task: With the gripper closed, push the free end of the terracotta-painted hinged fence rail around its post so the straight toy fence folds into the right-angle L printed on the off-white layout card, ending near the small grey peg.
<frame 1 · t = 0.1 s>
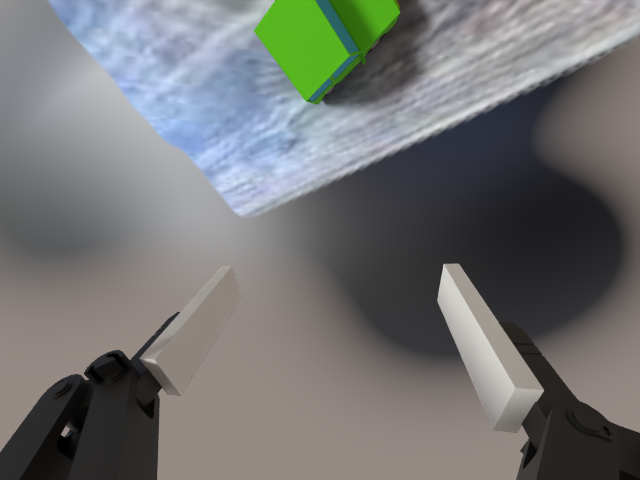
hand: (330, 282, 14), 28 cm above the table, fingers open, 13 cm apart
toy car: (337, 40, 30), on the table
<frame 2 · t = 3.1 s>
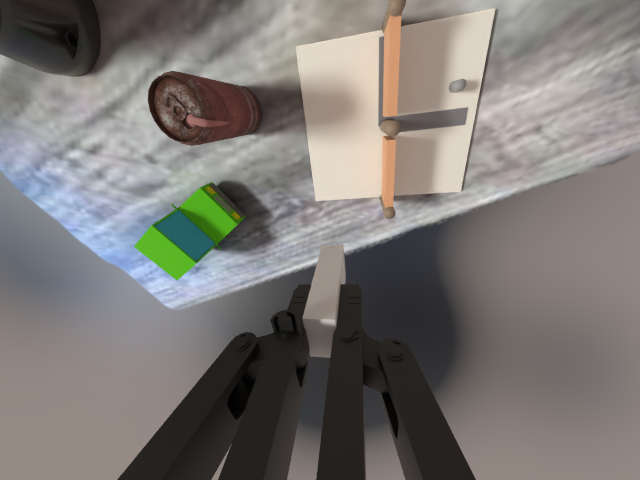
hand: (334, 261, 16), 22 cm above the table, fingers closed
can: (244, 111, 33), on the table
toy car: (213, 216, 42), on the table
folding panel: (387, 176, 30), point 4 cm above the table, hinge at 0.0°
layout card: (385, 125, 31), on the table
fixed panel: (385, 125, 31), resting on layout card
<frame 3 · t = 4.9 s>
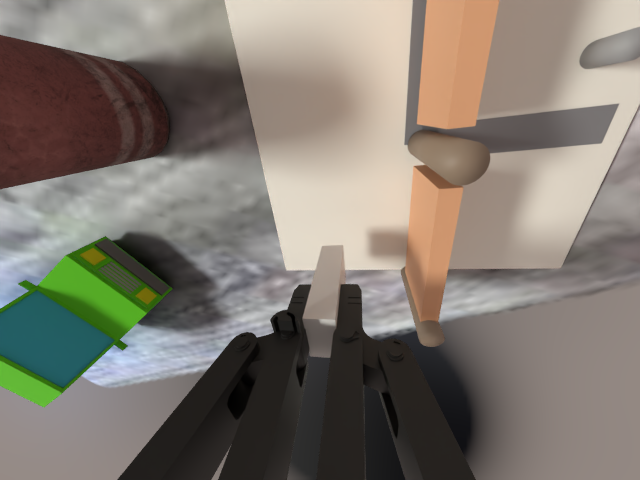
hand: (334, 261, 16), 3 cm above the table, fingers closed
can: (138, 114, 17), on the table
toy car: (128, 281, 26), on the table
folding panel: (424, 251, 14), point 4 cm above the table, hinge at 0.0°
layout card: (419, 142, 15), on the table
fixed panel: (420, 143, 14), resting on layout card
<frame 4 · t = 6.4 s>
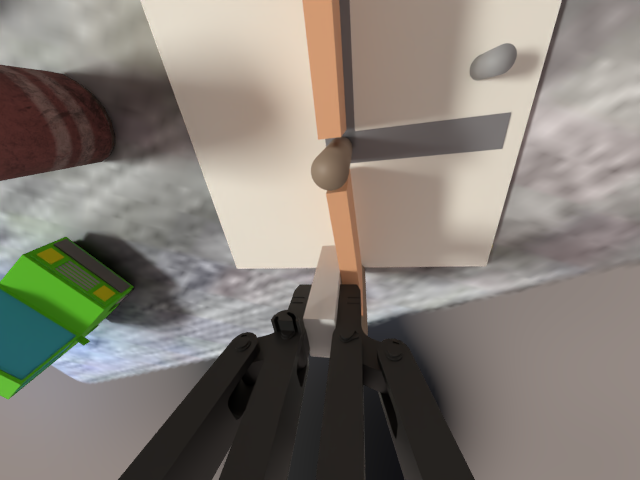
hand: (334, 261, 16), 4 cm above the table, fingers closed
can: (85, 121, 18), on the table
toy car: (95, 279, 27), on the table
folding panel: (350, 249, 15), point 4 cm above the table, hinge at 4.0°, touching gripper
layout card: (341, 148, 16), on the table
fixed panel: (340, 149, 15), resting on layout card
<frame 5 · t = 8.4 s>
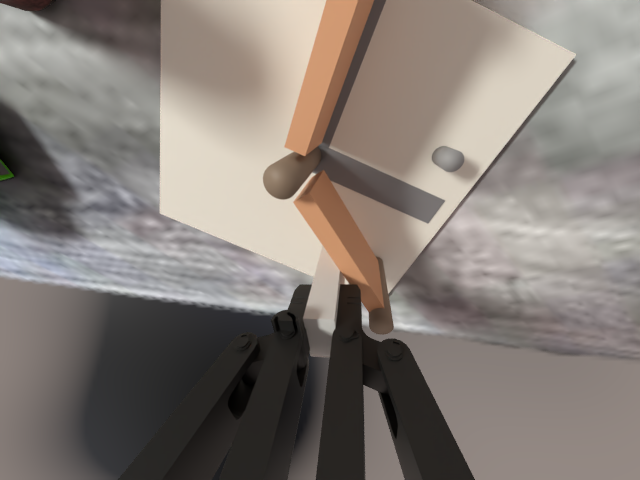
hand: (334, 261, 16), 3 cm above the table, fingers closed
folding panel: (350, 246, 15), point 4 cm above the table, hinge at 54.3°, touching gripper
layout card: (311, 155, 16), on the table
fixed panel: (310, 155, 16), resting on layout card
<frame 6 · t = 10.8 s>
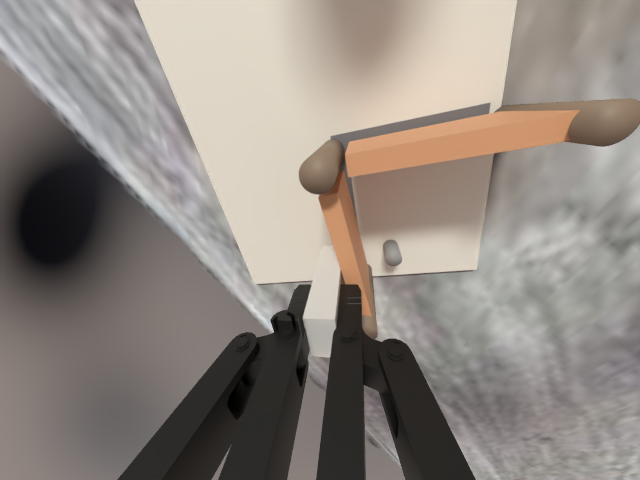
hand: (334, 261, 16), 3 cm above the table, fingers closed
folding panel: (351, 250, 15), point 4 cm above the table, hinge at 95.7°
layout card: (333, 150, 16), on the table
fixed panel: (333, 151, 15), resting on layout card
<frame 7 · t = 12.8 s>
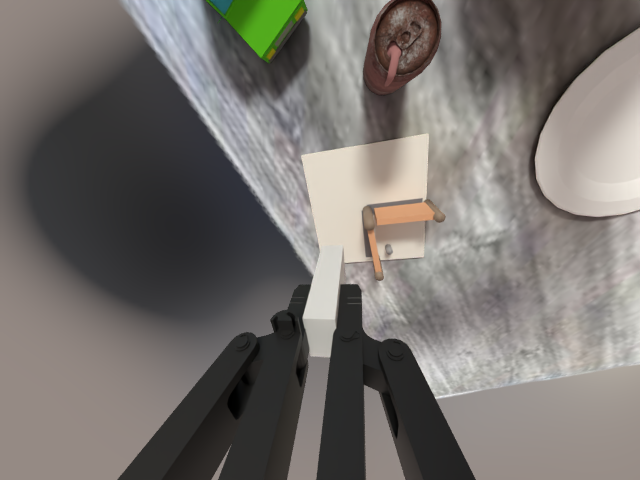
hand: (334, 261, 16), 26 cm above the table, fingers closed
can: (384, 71, 31), on the table
plate: (632, 129, 31), on the table
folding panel: (374, 247, 40), point 4 cm above the table, hinge at 95.7°
layout card: (366, 209, 41), on the table
fixed panel: (367, 210, 41), resting on layout card
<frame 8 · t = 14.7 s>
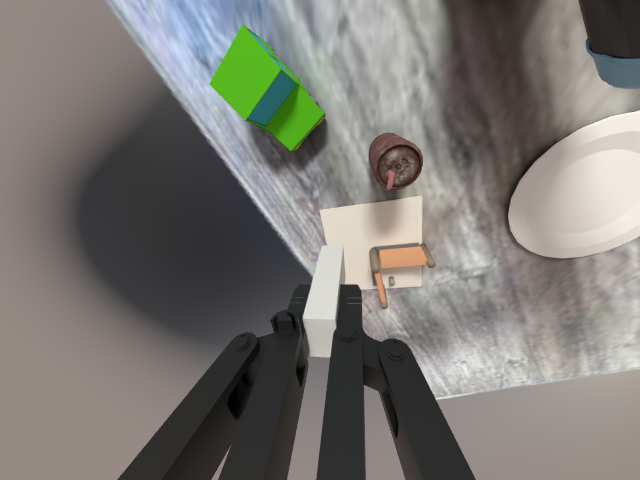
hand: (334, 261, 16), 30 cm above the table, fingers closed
can: (385, 152, 40), on the table
toy car: (286, 102, 39), on the table
plate: (586, 193, 39), on the table
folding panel: (379, 281, 49), point 4 cm above the table, hinge at 95.7°
layout card: (373, 249, 50), on the table
fixed panel: (373, 250, 50), resting on layout card
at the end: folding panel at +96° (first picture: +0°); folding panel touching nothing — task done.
